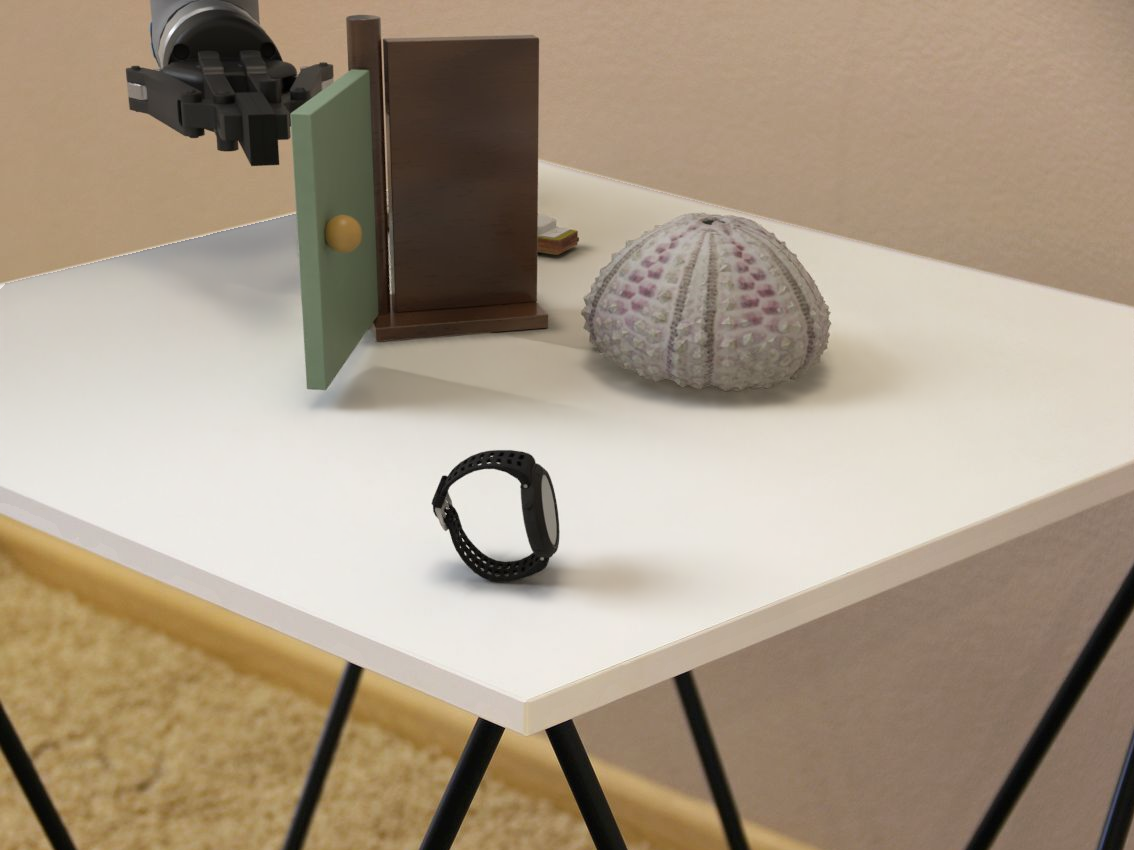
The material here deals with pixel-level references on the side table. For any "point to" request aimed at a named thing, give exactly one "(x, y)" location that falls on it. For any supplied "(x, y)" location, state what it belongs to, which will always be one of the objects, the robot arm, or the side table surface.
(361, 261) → the door
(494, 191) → the door frame
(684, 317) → the sea urchin shell
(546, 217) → the harmonica
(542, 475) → the smartwatch
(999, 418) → the side table surface
